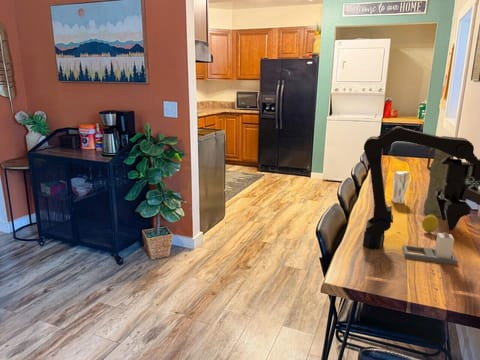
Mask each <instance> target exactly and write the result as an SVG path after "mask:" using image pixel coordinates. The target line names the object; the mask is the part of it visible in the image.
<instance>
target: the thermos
mask: <svg viewBox="0 0 480 360" xmlns="http://www.w3.org/2000/svg"><path fill="white" fill-rule="evenodd" d="M441 137H448V136H446V135H445V136H443V135H442V136H441ZM433 150H434V156H433V160H432V161H431V159H432V152H433ZM447 156H449V157H450V158H451V159H454V157H453V156H451V155H449V154H447V153H445V152H443V151H440V150H438V149H435V148H431V147H430V148H429V150H428V157H427V165H426V169H427V170H428V171H429V182H428V188H427V194H426V198H425V199H424V206H423V215H425V216H427V215H431V214H433V215H434V216H435V217H436V218H437V219H438V218H441V219H442V217H441V214H440V210H439V207H438V203H437V200H436V196H435V191H436V189H438V188H444V183H443V179H445V177H446V171H447V165H448V164H442V162H441V160H442V159H444V158H446V157H447ZM456 159H458V158H456Z"/></svg>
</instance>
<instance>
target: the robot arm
mask: <svg viewBox="0 0 480 360" xmlns="http://www.w3.org/2000/svg"><path fill="white" fill-rule="evenodd" d="M397 141H403V142H407V143H412V144H416V145H419V146H424V147H427V148H430V149H431V148H435V149H438V150H440V151H443V152H445V153H447V154H449V155H451V156H453V159H451V158H450V157H449V156H447V157H446V158H444V159H442V160H441V162H442V164H448V165H447V171H446V177H445V179H443V183H444V188H438V189H436V191H435V196H436V200H437V203H438V207H439V210H440V214H441V220H442V221H446V224H447V228H448V231H451V232H454V229H455V228H456V227H457V225H458V223H459V221H460V220H461V218H464V217H465V216H468V215H471V213H472V207H471V206H470V205H469V203H467V201H470V202H472V203H475V204H476V205H479V206H480V191H479V188H478V187H477V185H473V184H471V185H468V183H467V181H468V180H467V178H468V176H469V178H472V181H473V182H480V158H479V157H477V156H476V154H475V153H474V150H475V147H474V145H473V143H472V142H471V141H469V140H468V139H467V138H465V137H459V136H458V137H455V136H447V137H442V136H438V135H435V134H431V133H426V132H423V131H417V130H413V129H408V128H404V127H403V126H401V125H400V126H395V127H393V128H392V129H390V130H387V131H386V132H383V133H381V134H380V135H378V136H374V135H373V136H370V137H369V138H367V139H366V140H365V142H364V144H363V150H364V151H363V152H364V154H365V157H366V160H367V162H368V165H369V170H370V179H371V186H372V196H373V197H372V198H373V204H374V205H373V216H372V217H371V218H370V219H368V220H367V221H366V226H365V230H364V231H363V241H362V242H363V243H362V246H363V247H365V248H366V249H369V250H381V248H382V247H383V246H384V245H385V244H384V242H385V232H386V231H387V232H388V230H390V228H391V225H392V224H393V223H394V215H393V212H392V210H393V207H392V205H391V206H388V204H387V200H386V192H385V184H384V176H383V175H384V174H383V167H382V163H383V162H382V159H383V149H385V148H386V147H389V146H391V145H392V144H394V143H396V142H397ZM435 149H434V150H435ZM457 158H458V159H457ZM478 158H479V159H478ZM463 160H465V161H466V162H464V161H463Z"/></svg>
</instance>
